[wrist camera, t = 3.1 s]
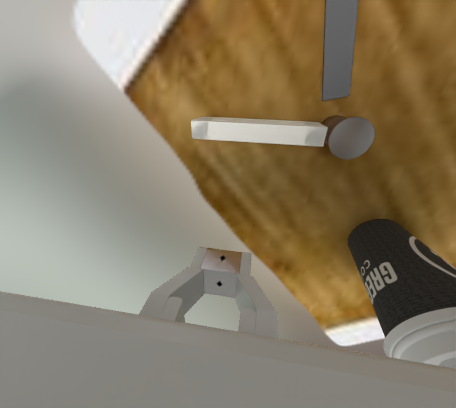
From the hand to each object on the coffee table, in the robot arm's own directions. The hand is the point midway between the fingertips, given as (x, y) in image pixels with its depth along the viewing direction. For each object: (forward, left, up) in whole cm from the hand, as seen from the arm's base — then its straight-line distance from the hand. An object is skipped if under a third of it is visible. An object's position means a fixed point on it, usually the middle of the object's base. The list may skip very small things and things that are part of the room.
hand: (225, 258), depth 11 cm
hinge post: (-10, -3, -15) cm, 18 cm away
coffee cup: (-16, +12, -16) cm, 25 cm away
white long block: (-2, -5, -14) cm, 15 cm away
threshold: (-10, -11, -15) cm, 21 cm away
